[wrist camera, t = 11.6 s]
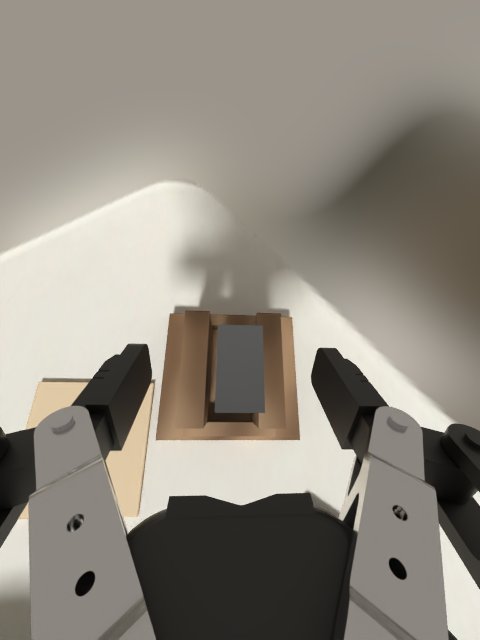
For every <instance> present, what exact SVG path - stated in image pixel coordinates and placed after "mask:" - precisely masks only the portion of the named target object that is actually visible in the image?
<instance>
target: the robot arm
mask: <svg viewBox="0 0 480 640" xmlns="http://www.w3.org/2000/svg"><path fill="white" fill-rule="evenodd" d="M151 379H152V369H151V362H150V356H149V349H148V346H147V344H128V345H127V346H126V348H125V349H124V350H123V352H122V353H121V355H114V356H113V357H111V358H110V359H108V360H107V361H105V362H104V364H103V365H102V366H101V368H100V369H99V371H98V372H97V373H96V374H95V375H94V376H93V379H91V380H90V382H89V383H88V384H87V385H86V387H85V388H84V389H83V391H82V392H81V393H80V394H79V396H78V397H77V398H76V400H75V401H74V402H73V403H72V405H71V406H69V407H65V408H62V409H59V410H57V411H55V412H53V413H51V414H50V415H48V416H47V417H46V418H44V419H43V420H42V421H41V422H40V423H39V424H38V426H37V427H35V428H31V429H26V430H22V431H18V432H14V433H10V434H6V435H5V433H4V432H3V430H2V428H1V427H0V548H1V546H2V544H3V543H4V541H5V539H6V538H7V536H8V535H9V533H10V531H11V530H12V528H13V526H14V525H15V523H16V521H17V520H18V518H19V517H20V515H21V513H22V512H23V510H24V508H25V507H26V505H27V504H28V514H29V560H30V605H31V640H457V638H456V637H455V636H454V635H453V634H452V633H451V632H450V631H449V630H448V626H447V615H446V603H445V591H444V579H443V568H442V556H441V544H440V532H439V524H440V526H441V527H442V529H443V530H444V532H445V534H446V535H447V537H448V539H449V540H450V542H451V543H452V545H453V547H454V548H455V550H456V552H457V553H458V555H459V556H460V558H461V560H462V561H463V563H464V565H465V566H466V568H467V570H468V571H469V573H470V574H471V576H472V578H473V579H474V581H475V583H476V584H477V586H478V587H479V589H480V506H479V504H478V503H477V502H476V501H475V499H474V498H473V495H474V494H475V493H476V492H477V491H479V492H480V431H478V430H476V429H474V428H472V427H469V426H466V425H463V424H451V425H449V427H448V428H447V430H446V431H445V433H443V432H439V431H435V430H431V429H427V428H423V427H420V426H419V424H418V423H417V422H416V421H415V420H414V419H413V418H412V417H411V416H410V415H408V414H407V413H405V412H403V411H401V410H399V409H396V408H393V407H389V406H388V405H387V403H386V402H385V401H384V399H383V398H382V397H381V396H380V394H379V393H378V392H377V391H376V389H375V388H374V387H373V386H372V384H371V383H370V382H368V379H367V378H366V377H365V376H364V375H363V373H362V372H361V371H360V369H359V368H358V367H357V366H356V365H355V364H354V363H352V362H351V361H349V360H348V359H344V358H343V357H342V355H341V354H340V353H339V351H338V350H337V349H336V348H319V349H318V350H317V353H316V357H315V361H314V365H313V369H312V373H311V381H312V386H313V388H314V390H315V392H316V394H317V397H318V399H319V401H320V403H321V405H322V407H323V409H324V412H325V414H326V416H327V418H328V420H329V422H330V425H331V427H332V429H333V431H334V433H335V435H336V437H337V440H338V442H339V444H340V446H341V448H342V449H353V450H354V452H355V454H356V456H355V458H354V461H353V465H352V470H351V474H350V478H349V482H348V486H347V490H346V495H345V499H344V503H343V506H342V509H341V512H340V514H339V517H336V516H335V515H333V514H331V513H330V512H328V511H326V510H324V509H321V508H319V507H317V506H313V502H312V499H311V495H310V493H292V494H275V495H272V496H269V497H266V498H263V499H260V500H258V501H255V502H252V503H249V504H246V505H236V504H233V503H229V502H226V501H222V500H219V499H215V498H212V497H208V496H169V501H168V506H167V509H165V510H162V511H160V512H158V513H156V514H154V515H152V516H150V517H149V518H147V519H145V520H144V521H142V522H141V523H140V524H138V525H137V526H136V527H135V528H133V529H132V530H131V531H130V532H129V533H128V530H127V527H126V524H125V521H124V518H123V515H122V512H121V509H120V506H119V502H118V499H117V496H116V493H115V490H114V486H113V483H112V480H111V477H110V474H109V470H108V467H107V464H106V459H107V457H108V454H109V452H110V451H122V448H123V446H124V444H125V441H126V439H127V437H128V434H129V432H130V430H131V428H132V425H133V423H134V421H135V418H136V416H137V414H138V411H139V409H140V407H141V404H142V402H143V400H144V397H145V395H146V393H147V390H148V388H149V386H150V383H151Z"/></svg>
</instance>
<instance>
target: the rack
mask: <svg viewBox="0 0 480 640" xmlns="http://www.w3.org/2000/svg"><path fill="white" fill-rule="evenodd" d="M218 324H219V325H258V326H263V350H264V390H265V413H215V392H216V367H217V341H218ZM156 440H300V434H299V418H298V403H297V387H296V372H295V357H294V341H293V326H292V317H281V314H273V313H257V315H256V316H245V315H212V314H210V311H185V314H171V313H170V317H169V326H168V335H167V344H166V353H165V362H164V371H163V380H162V389H161V397H160V406H159V415H158V424H157V433H156Z"/></svg>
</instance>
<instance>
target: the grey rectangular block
mask: <svg viewBox="0 0 480 640" xmlns="http://www.w3.org/2000/svg"><path fill="white" fill-rule="evenodd" d="M215 413H265V390H264V350H263V326H258V325H219V324H218V341H217V367H216V392H215Z"/></svg>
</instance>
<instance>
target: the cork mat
mask: <svg viewBox="0 0 480 640" xmlns="http://www.w3.org/2000/svg"><path fill="white" fill-rule="evenodd" d="M87 384H88V383H87V382H39V383H38V386H37V390H36V393H35V397H34V401H33V404H32V408H31V412H30V415H29V419H28V422H27V426H26V429H31V428H35V427H37V426H38V424H39V423H40V422H41V421H42V420H43V419H44V418H46V417H47V416H48V415H50V414H51V413H53V412H55V411H57V410H59V409H62V408H65V407H69V406H71V405H72V403H73V402H74V401H75V400H76V398H77V397H78V396H79V394H80V393H81V392H82V391H83V389H84V388H85V387H86V385H87ZM153 392H154V383H150V386H149V388H148V390H147V393H146V395H145V397H144V400H143V402H142V404H141V407H140V409H139V411H138V414H137V416H136V418H135V421H134V423H133V425H132V428H131V430H130V432H129V434H128V437H127V439H126V441H125V444H124V446H123V448H122V451H110V452H109V454H108V457H107V459H106V464H107V467H108V470H109V474H110V477H111V480H112V483H113V486H114V490H115V493H116V496H117V499H118V502H119V506H120V509H121V512H122V515H123V517H137V516H138V514H139V506H140V498H141V490H142V481H143V473H144V465H145V457H146V449H147V441H148V432H149V424H150V416H151V408H152V400H153ZM18 519H29V514H28V504H27V505H26V507H25V508H24V510H23V512H22V513H21V515H20V517H19V518H18Z"/></svg>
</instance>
